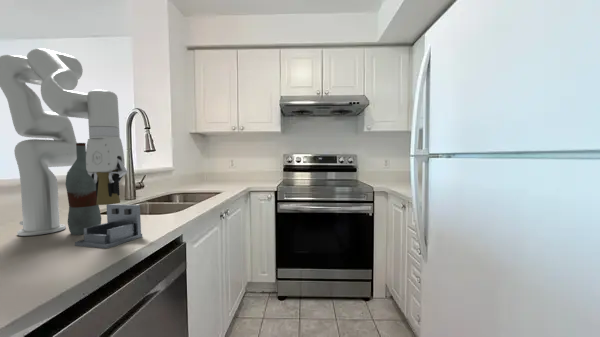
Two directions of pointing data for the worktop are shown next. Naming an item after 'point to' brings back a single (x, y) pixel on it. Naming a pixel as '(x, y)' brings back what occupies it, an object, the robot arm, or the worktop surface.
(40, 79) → the robot arm
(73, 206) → the bottle
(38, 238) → the worktop surface
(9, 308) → the worktop surface
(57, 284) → the worktop surface
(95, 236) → the clip bracket
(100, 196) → the cork
